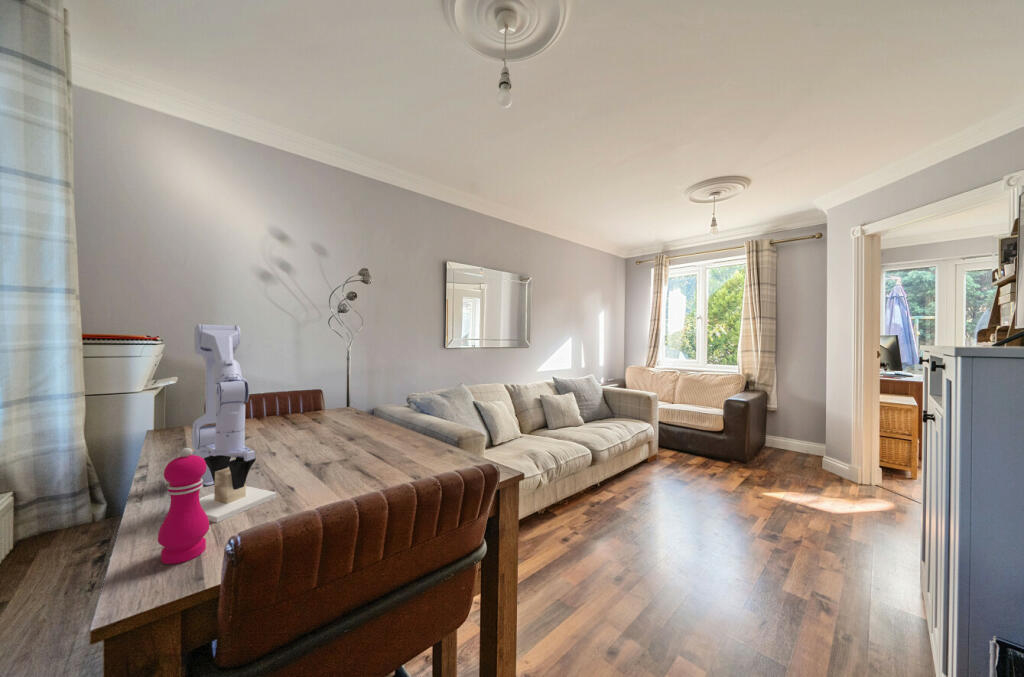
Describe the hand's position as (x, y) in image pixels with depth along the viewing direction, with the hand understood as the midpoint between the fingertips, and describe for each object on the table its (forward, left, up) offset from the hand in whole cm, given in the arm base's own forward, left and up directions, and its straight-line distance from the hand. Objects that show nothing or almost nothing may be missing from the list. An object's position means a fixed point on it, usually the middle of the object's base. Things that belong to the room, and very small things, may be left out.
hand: (229, 486), depth 89 cm
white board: (0, 0, -4) cm, 4 cm away
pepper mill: (+14, -17, -5) cm, 22 cm away
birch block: (0, 0, -3) cm, 3 cm away
